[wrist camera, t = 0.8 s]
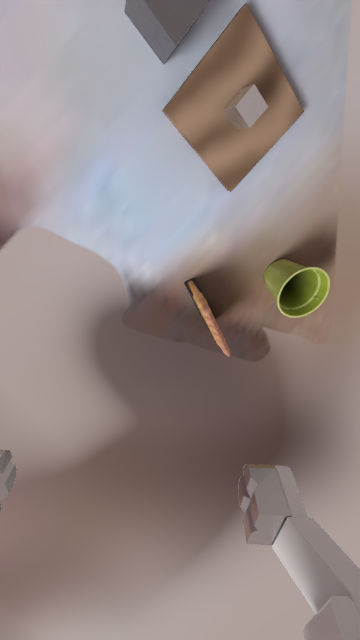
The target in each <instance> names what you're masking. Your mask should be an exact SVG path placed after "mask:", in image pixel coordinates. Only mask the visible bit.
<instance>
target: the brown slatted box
mask: <svg viewBox="0 0 360 640" xmlns="http://www.w3.org/2000/svg"><path fill="white" fill-rule="evenodd" d="M184 284H185V285H186V287H187V289H188V291H189V293H190V295H191V297H192V299H193V301H194V303H195V305H196V307H197V309H198V311H199V313H200V315H201V317H202V319H203V320H204V322H205V324H206V326H207V328H208V330H209V332H210V333H211V335H212V337H213V338H214V339H215V341H216V343H217V344H218V345H219V346H220V348H221V349H222V351H223V352H224V353H225V354H226V355H227V356H229V357H230V350H229V348H228V346H227V344H226V341H225V338H224V337H223V335H222V332H221V330H220V328H219V326H218V324H217V322H216V320H215V318H214V316H213V314H212V312H211V309H210V307H209V306H208V303H207V301H206V299H205V297H204V295H203V293H202V291H201V289H200V288H199V286H198V285H197V283H196V282H195V280H194V279H193V278H192V279H190V280H188V281H187V282H185V283H184Z"/></svg>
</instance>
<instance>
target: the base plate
mask: <svg viewBox="0 0 360 640" xmlns="http://www.w3.org/2000/svg"><path fill="white" fill-rule="evenodd" d="M253 84H255V86H256V87H257V89H258V91H259V92H260V94H261V96H262V97H263V99H264V101H265V102H266V104H267V106H268V108H267V109H266V110H265V111H264V113H263V114H262V115H261V116H260V117H259V118H258V119H257V121H256V122H255V123H254V124H253V125H252V126H251V127H250V128H247V129H239V130H236V129H235V128H234V126H233V125H232V124H231V122H230V121H229V119H228V118H227V116H226V115H225V113H224V112H223V111H222V110H223V109H224V108H225V107H226V105H227V104H228V103H229V102H230V101H231V99H232V98H233V97H234V96H235V95H236V93H237V92H238V91H239V90H241V89H243V88H246V87H248V86H250V85H253ZM163 112H164V114H165V115H166V116H167V117H168V118H169V120H170V121H171V122H172V123H173V125H174V126H175V127H176V128H177V129H178V131H179V132H180V133H181V134H182V136H183V137H184V138H185V139H186V140H187V142H188V143H189V144H190V145H191V147H192V148H193V149H194V150H195V151H196V153H197V154H198V155H199V156H200V158H201V159H202V160H203V161H204V162H205V164H206V165H207V166H208V167H209V169H210V170H211V171H212V172H213V173H214V175H215V176H216V177H217V178H218V180H219V181H220V182H221V183H222V184H223V186H224V187H225V188H226V189H227V190H228V191H230V192H231V191H232V190H233V189H234V188H235V187H236V186H237V184H238V183H239V182H240V181H241V180H242V179H243V178H244V177H245V176H246V175H247V174H248V172H249V171H250V170H251V169H252V168H253V167H254V166H255V165H256V164H257V163H258V162H259V160H260V159H261V158H262V157H263V156H264V155H265V154H266V153H267V152H268V151H269V149H270V148H271V147H272V146H273V145H274V144H275V143H276V142H277V141H278V140H279V139H280V137H281V136H282V135H283V134H284V133H285V132H286V131H287V130H288V129H289V128H290V126H291V125H292V124H293V123H294V122H295V121H296V120H297V119H298V118H299V117H300V116H301V114H302V113H303V112H304V110H303V108H302V107H301V105H300V103H299V101H298V99H297V97H296V95H295V93H294V92H293V90H292V88H291V86H290V84H289V82H288V80H287V78H286V76H285V75H284V73H283V71H282V69H281V67H280V65H279V63H278V61H277V60H276V58H275V56H274V54H273V52H272V50H271V48H270V46H269V45H268V43H267V41H266V39H265V37H264V35H263V33H262V31H261V30H260V28H259V26H258V24H257V22H256V20H255V18H254V16H253V14H252V13H251V11H250V9H249V7H248V5H247V3H246V4H245V5H244V6H243V7H242V8H241V9H240V10H239V12H238V13H237V14H236V15H235V17H234V18H233V19H232V21H231V22H230V23H229V25H228V26H227V27H226V28H225V30H224V31H223V32H222V34H221V35H220V36H219V38H218V39H217V40H216V42H215V43H214V44H213V45H212V47H211V48H210V49H209V51H208V52H207V53H206V55H205V56H204V57H203V58H202V60H201V61H200V62H199V64H198V65H197V66H196V68H195V69H194V70H193V71H192V73H191V74H190V75H189V77H188V78H187V79H186V81H185V82H184V83H183V84H182V86H181V87H180V88H179V90H178V91H177V92H176V94H175V95H174V96H173V98H172V99H171V100H170V101H169V103H168V104H167V105H166V107H165V108H164V109H163Z"/></svg>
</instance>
